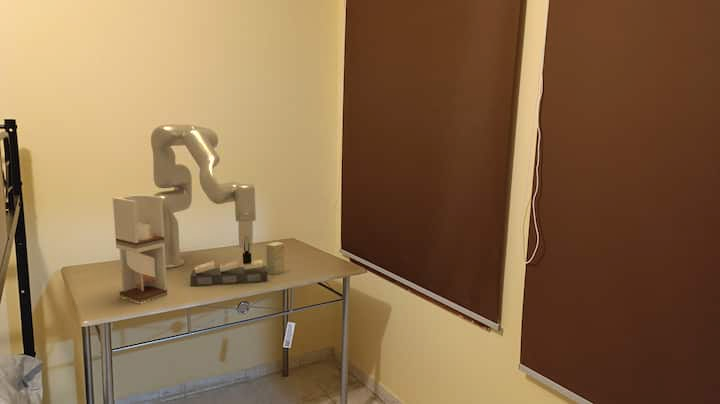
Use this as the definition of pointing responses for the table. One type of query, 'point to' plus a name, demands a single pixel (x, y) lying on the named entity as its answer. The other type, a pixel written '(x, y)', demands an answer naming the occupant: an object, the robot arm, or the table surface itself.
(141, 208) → the display case
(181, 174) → the robot arm
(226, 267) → the cream flat rectangular block
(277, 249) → the skincare box
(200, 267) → the rocker
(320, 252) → the table surface
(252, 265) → the rocker
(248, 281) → the power strip
